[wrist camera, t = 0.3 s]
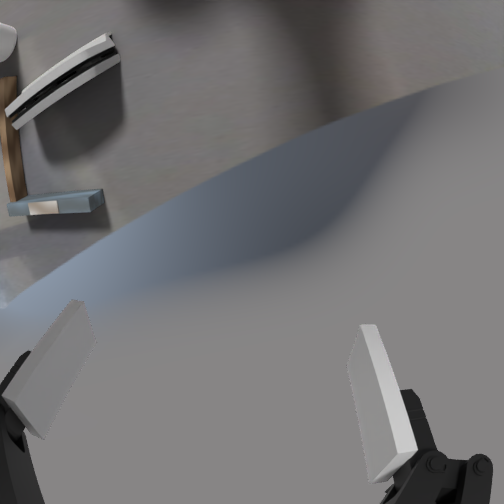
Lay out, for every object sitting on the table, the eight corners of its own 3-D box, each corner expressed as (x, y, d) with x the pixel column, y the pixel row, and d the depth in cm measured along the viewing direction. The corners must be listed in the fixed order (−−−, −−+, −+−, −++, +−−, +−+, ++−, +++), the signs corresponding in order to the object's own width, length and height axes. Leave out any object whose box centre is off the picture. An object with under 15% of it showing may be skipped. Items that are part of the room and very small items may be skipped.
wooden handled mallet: (10, 78, 31) (-7, 80, 27) (94, 49, 30) (77, 45, 26) (24, 207, 41) (8, 216, 37) (104, 202, 40) (89, 212, 36)
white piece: (113, 30, 29) (80, 40, 22) (126, 58, 32) (97, 75, 25) (26, 88, 32) (-12, 114, 25) (39, 111, 35) (4, 141, 28)
